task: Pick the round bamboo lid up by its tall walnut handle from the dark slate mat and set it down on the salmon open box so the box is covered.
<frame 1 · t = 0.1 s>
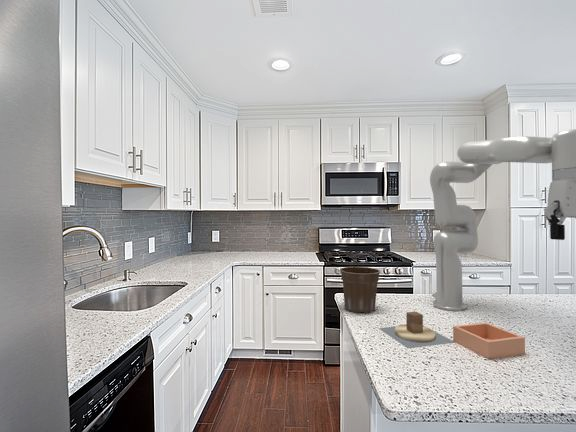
hand: (571, 239, 83), 31 cm above the countertop, fingers open, 9 cm apart
lid: (414, 334, 95), point 1 cm above the countertop, touching mat
salmon open box: (487, 349, 86), on the countertop
plant pot: (360, 309, 125), on the countertop
mat: (414, 336, 95), on the countertop
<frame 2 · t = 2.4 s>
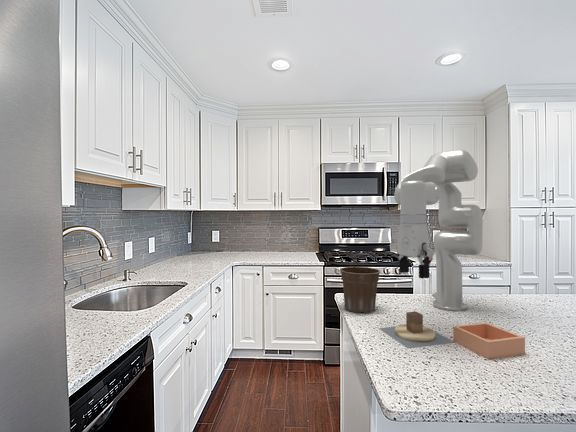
hand: (413, 275, 95), 19 cm above the countertop, fingers open, 9 cm apart
nothing on the countertop moved.
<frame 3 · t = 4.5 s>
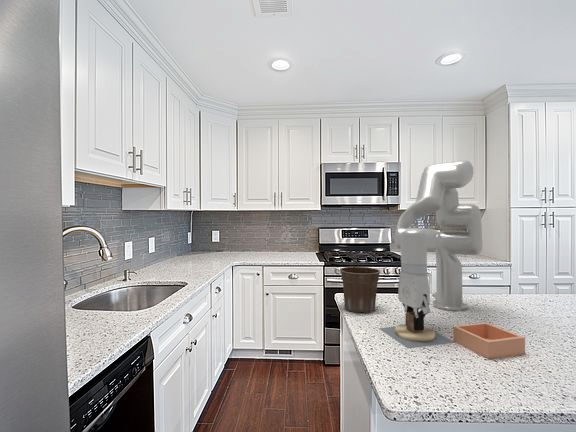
hand: (414, 327, 95), 3 cm above the countertop, fingers closed on lid, 3 cm apart
lid: (414, 334, 95), point 1 cm above the countertop, touching gripper
everything else where it was.
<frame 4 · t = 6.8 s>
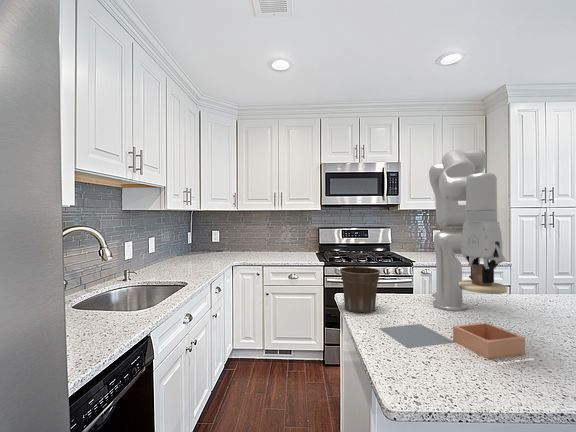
hand: (482, 280, 86), 19 cm above the countertop, fingers closed on lid, 3 cm apart
lid: (481, 288, 86), point 17 cm above the countertop, touching gripper
everything else where it was.
when the fingers open (9 cm above the countertop, at t = 9.2 s): lid drops 1 cm, resting on salmon open box.
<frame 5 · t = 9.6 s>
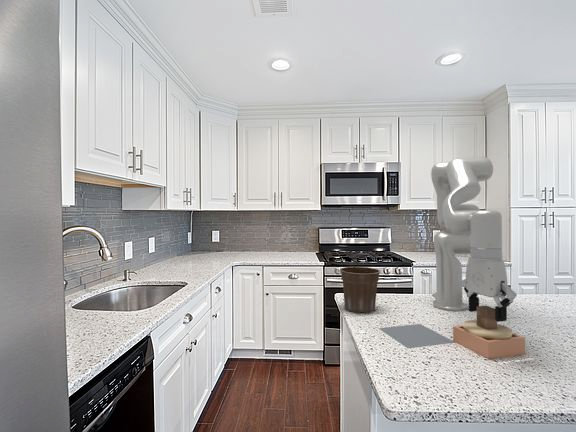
hand: (486, 315, 86), 10 cm above the countertop, fingers open, 8 cm apart
lid: (486, 331, 86), point 5 cm above the countertop, touching salmon open box
everything else where it was.
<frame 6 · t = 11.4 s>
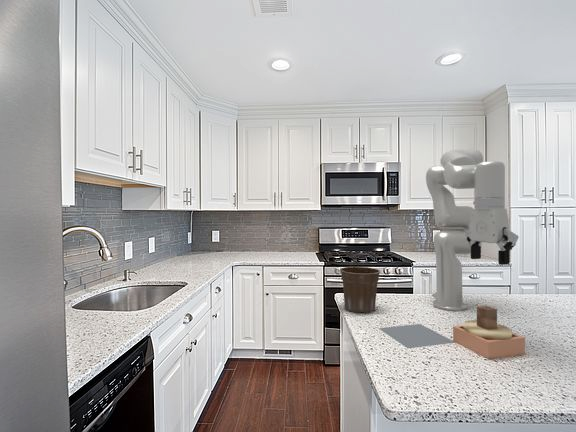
hand: (489, 261, 90), 24 cm above the countertop, fingers open, 9 cm apart
nothing on the countertop moved.
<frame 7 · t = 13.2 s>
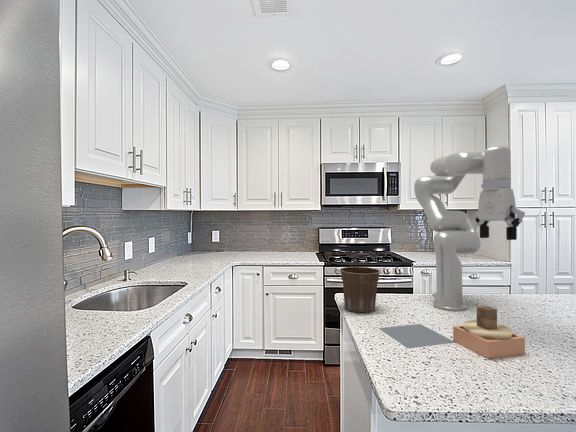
hand: (497, 238, 98), 30 cm above the countertop, fingers open, 9 cm apart
nothing on the countertop moved.
at the end: lid 0.1 cm off-centre on the salmon open box, point 5.0 cm above the salmon open box's base; lid tilted 0°; the gripper is holding nothing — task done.
